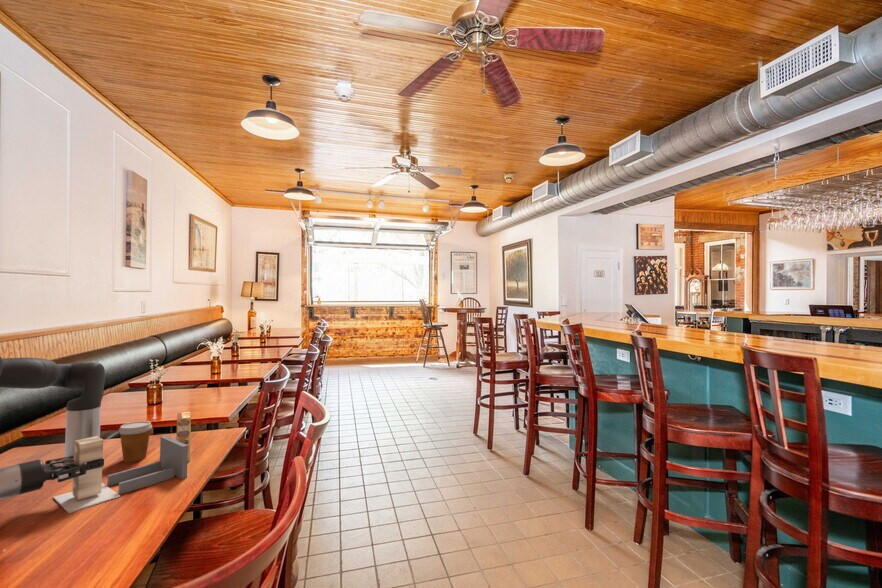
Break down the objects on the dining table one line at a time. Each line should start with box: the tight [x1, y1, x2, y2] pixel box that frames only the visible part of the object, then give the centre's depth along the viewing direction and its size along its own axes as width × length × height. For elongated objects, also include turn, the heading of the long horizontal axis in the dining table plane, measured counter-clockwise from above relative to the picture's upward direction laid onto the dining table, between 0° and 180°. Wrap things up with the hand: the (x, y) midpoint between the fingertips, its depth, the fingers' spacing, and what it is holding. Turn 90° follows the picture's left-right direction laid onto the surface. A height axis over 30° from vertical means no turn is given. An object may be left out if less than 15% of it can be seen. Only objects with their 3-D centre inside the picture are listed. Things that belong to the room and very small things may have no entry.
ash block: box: [72, 436, 104, 500], centre depth 114 cm, size 5×5×15 cm
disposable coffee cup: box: [118, 420, 153, 463], centre depth 143 cm, size 10×10×12 cm
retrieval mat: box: [52, 482, 121, 514], centre depth 114 cm, size 14×11×1 cm
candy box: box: [175, 411, 192, 462], centre depth 144 cm, size 9×4×15 cm, turn 33°
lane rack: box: [106, 435, 188, 495], centre depth 126 cm, size 16×16×10 cm
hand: (99, 459), depth 116 cm, fingers open, 5 cm apart
